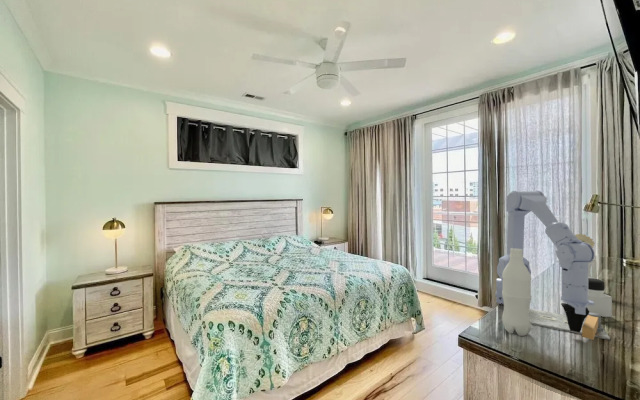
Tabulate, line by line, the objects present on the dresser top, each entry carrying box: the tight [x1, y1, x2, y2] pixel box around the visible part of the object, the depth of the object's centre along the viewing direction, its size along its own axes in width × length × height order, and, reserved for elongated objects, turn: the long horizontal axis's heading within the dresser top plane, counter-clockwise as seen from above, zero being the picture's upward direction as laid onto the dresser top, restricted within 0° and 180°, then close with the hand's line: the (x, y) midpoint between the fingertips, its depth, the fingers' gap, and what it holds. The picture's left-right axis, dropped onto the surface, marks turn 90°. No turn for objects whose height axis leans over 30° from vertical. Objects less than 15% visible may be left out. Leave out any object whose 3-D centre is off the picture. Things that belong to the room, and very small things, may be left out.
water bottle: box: [501, 248, 532, 337], centre depth 83 cm, size 7×7×25 cm
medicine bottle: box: [587, 277, 613, 318], centre depth 97 cm, size 7×7×12 cm
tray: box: [529, 308, 611, 341], centre depth 89 cm, size 18×14×1 cm
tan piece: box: [581, 312, 602, 341], centre depth 81 cm, size 16×3×3 cm, turn 130°
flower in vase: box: [574, 233, 606, 293], centre depth 122 cm, size 13×11×25 cm
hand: (574, 330), depth 80 cm, fingers closed
